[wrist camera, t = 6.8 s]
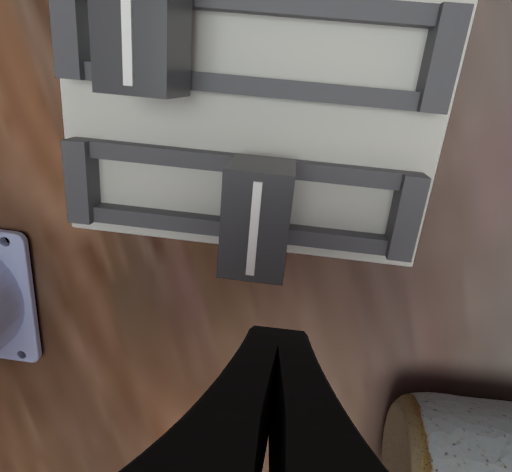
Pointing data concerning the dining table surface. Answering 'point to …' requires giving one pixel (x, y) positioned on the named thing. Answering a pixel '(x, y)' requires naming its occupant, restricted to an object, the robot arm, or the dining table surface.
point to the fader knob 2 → (255, 218)
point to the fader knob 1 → (141, 47)
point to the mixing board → (273, 121)
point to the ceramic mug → (447, 434)
